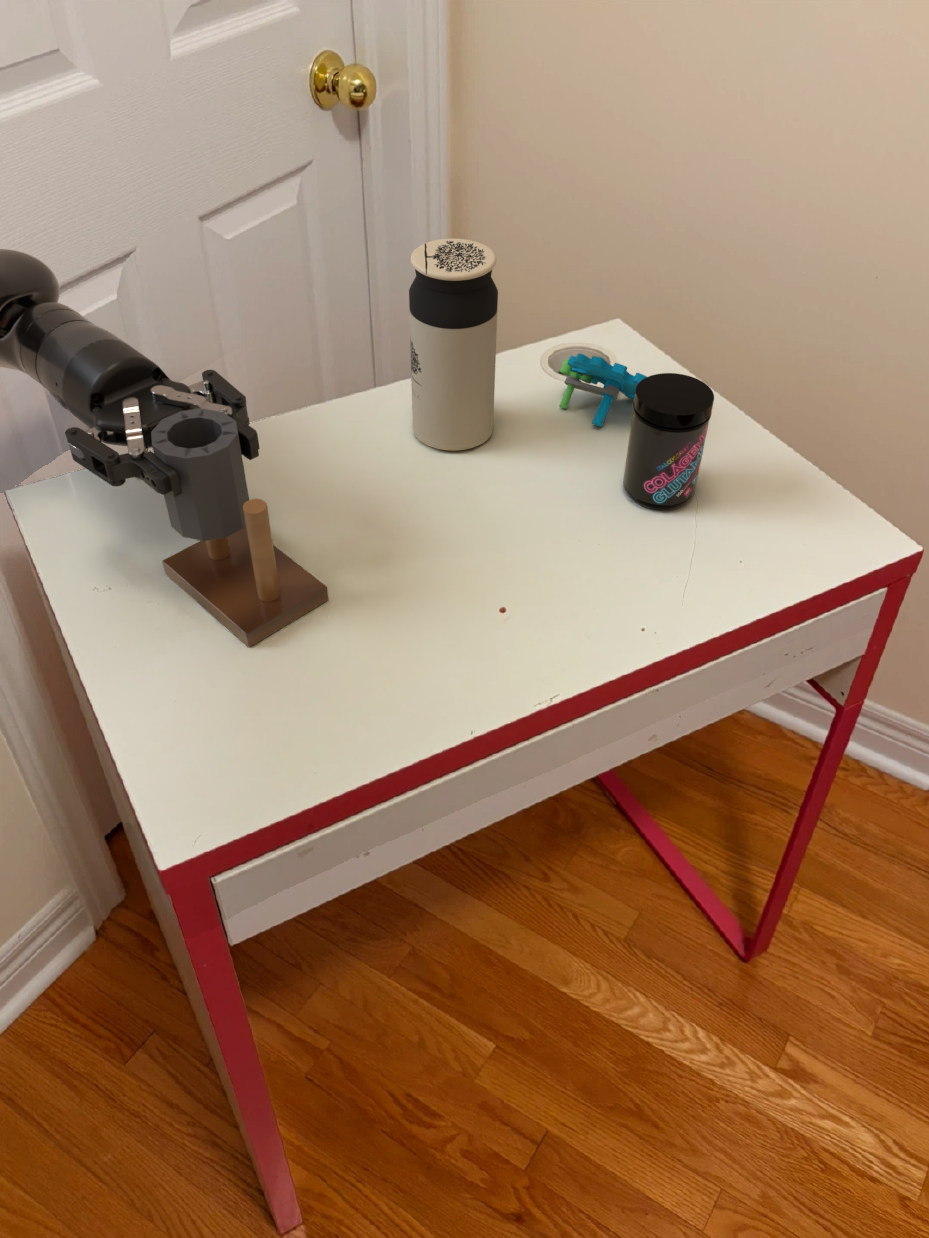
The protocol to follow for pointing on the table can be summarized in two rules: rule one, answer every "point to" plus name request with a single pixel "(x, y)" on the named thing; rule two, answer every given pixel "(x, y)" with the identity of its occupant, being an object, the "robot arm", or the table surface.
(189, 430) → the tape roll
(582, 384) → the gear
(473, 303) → the travel mug
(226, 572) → the rack
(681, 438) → the supplement container
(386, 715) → the table surface
